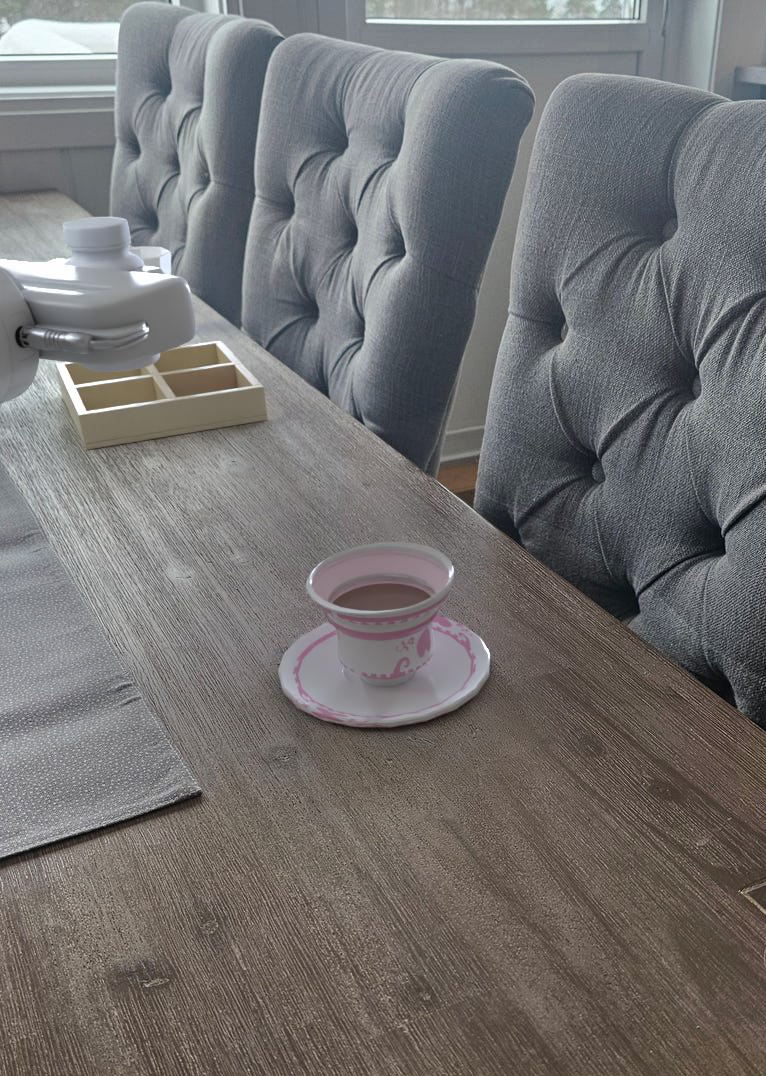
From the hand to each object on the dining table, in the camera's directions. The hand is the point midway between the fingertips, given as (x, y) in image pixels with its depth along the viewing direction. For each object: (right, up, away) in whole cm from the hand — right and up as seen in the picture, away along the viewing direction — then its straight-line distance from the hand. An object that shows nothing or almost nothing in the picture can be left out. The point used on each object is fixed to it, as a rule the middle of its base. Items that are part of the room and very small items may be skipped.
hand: (113, 275), depth 73 cm
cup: (-14, +12, +50) cm, 53 cm away
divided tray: (-5, -2, +29) cm, 29 cm away
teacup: (+19, -26, -9) cm, 33 cm away
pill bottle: (0, -5, +2) cm, 6 cm away
